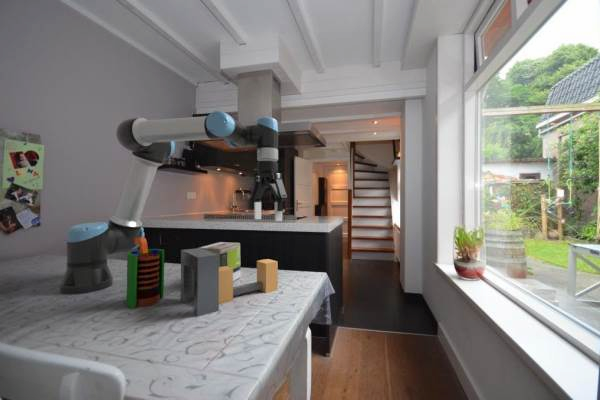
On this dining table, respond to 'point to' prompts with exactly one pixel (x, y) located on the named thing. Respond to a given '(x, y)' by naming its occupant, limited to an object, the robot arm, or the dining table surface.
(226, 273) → the tan u-shaped piece
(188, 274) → the housing
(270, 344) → the dining table surface
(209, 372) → the dining table surface
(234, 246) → the tea box
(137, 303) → the motor
